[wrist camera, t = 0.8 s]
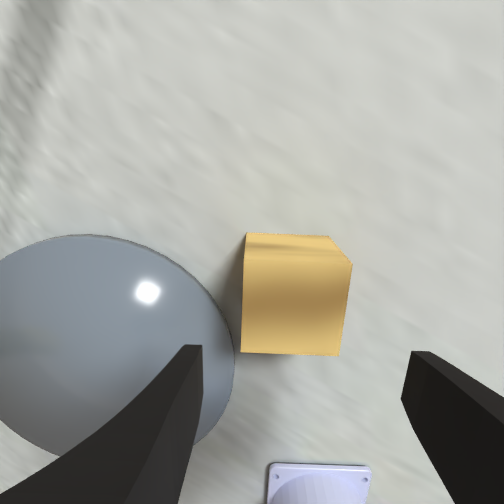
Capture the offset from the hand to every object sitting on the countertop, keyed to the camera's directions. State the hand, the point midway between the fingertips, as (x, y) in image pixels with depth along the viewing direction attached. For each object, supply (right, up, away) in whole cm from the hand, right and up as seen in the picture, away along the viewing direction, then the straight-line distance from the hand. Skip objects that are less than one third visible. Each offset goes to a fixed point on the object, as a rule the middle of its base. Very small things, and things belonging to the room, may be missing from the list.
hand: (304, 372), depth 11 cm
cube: (0, +3, +9) cm, 10 cm away
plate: (-12, -3, +11) cm, 17 cm away
